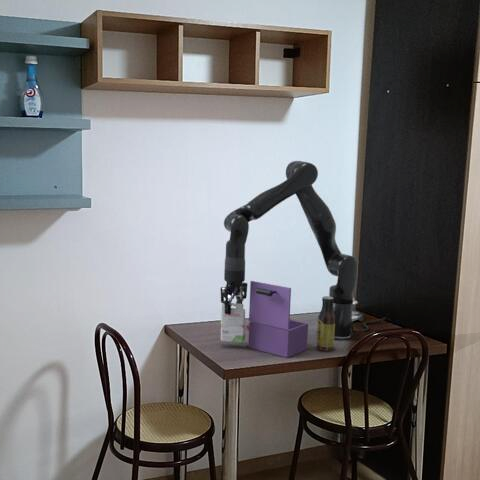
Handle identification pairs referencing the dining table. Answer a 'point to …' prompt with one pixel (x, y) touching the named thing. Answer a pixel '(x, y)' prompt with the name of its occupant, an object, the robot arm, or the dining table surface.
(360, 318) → the toy car
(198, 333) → the dining table surface
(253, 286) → the file box lid
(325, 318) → the sauce bottle
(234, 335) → the ink box
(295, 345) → the box
